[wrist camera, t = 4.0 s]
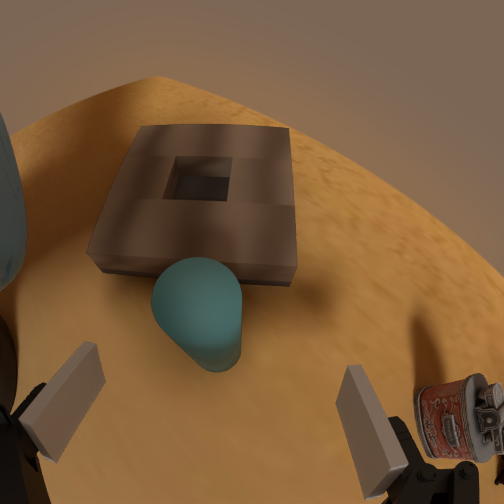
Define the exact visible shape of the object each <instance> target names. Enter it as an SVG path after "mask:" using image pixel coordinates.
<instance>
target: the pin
mask: <svg viewBox="0 0 504 504" xmlns="http://www.w3.org/2000/svg"><path fill="white" fill-rule="evenodd" d="M151 305H152V311H153V315H154V317H155V319H156V321H157V323H158V325H159V326H160V327H161V328H162V330H163V331H164V332H165V333H166V334H167V335H168V336H169V337H170V338H171V339H172V340H173V341H174V342H175V343H177V344H178V345H179V346H180V347H181V348H182V349H183V350H184V351H185V352H186V353H187V354H188V355H189V356H190V357H191V358H192V359H193V360H194V361H196V362H197V363H198V364H199V365H200V366H201V367H202V368H204V369H206V370H208V371H211V372H223V371H226V370H228V369H230V368H232V367H233V366H234V365H235V364H236V363H237V361H238V359H239V357H240V354H241V324H242V292H241V288H240V284H239V282H238V280H237V278H236V277H235V275H234V274H233V273H232V272H231V270H229V269H228V268H227V267H226V266H225V265H223V264H222V263H220V262H218V261H215V260H213V259H209V258H203V257H193V258H187V259H184V260H181V261H178V262H176V263H174V264H173V265H171V266H170V267H168V268H167V269H166V270H165V271H164V272H163V273H162V274H161V275H160V277H159V278H158V280H157V282H156V283H155V286H154V288H153V292H152V298H151Z"/></svg>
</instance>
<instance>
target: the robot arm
mask: <svg viewBox="0 0 504 504" xmlns="http://www.w3.org/2000/svg"><path fill="white" fill-rule="evenodd" d="M26 247H27V218H26V208H25V202H24V196H23V190H22V185H21V180H20V175H19V171H18V167H17V163H16V159H15V155H14V151H13V148H12V144H11V141H10V138H9V135H8V131H7V129H6V125H5V123H4V120H3V117H2V115H1V112H0V291H1V290H3V289H4V288H5V287H6V286H8V285H9V284H10V283H11V282H12V281H13V280H14V279H15V277H16V276H17V275H18V273H19V271H20V269H21V267H22V264H23V262H24V258H25V253H26ZM105 383H106V380H105V377H104V373H103V370H102V366H101V362H100V358H99V354H98V349H97V345H96V344H95V343H91V342H86V341H85V342H84V343H83V344H82V345H81V346H80V347H79V348H78V349H77V350H76V351H75V353H74V354H73V355H72V356H71V357H70V358H69V359H68V360H67V362H66V363H65V364H64V365H63V366H62V367H61V368H60V370H59V371H58V372H57V373H56V374H55V375H54V376H53V378H52V379H51V380H50V381H49V382H48V383H47V384H46V383H44V382H43V383H41V384H39V385H38V386H36V387H35V388H34V389H33V390H32V391H31V392H30V395H28V396H27V397H26V400H25V399H24V401H23V402H22V403H21V404H20V405H19V407H18V408H17V409H16V410H15V411H14V413H13V414H12V415H10V411H11V408H12V405H13V401H14V396H15V389H16V359H15V351H14V346H13V342H12V338H11V335H10V332H9V329H8V327H7V325H6V323H5V321H4V320H3V318H2V317H1V316H0V504H51V502H50V499H49V495H48V492H47V489H46V486H45V482H44V479H43V475H42V471H41V467H40V463H39V459H38V457H37V455H36V454H37V452H38V451H40V453H41V454H42V456H43V457H44V458H46V459H48V460H50V461H52V462H54V463H56V464H57V462H58V460H59V458H60V457H61V455H62V453H63V451H64V450H65V448H66V446H67V444H68V443H69V441H70V439H71V438H72V436H73V434H74V433H75V431H76V429H77V428H78V426H79V424H80V423H81V421H82V419H83V418H84V416H85V414H86V413H87V411H88V410H89V408H90V406H91V405H92V403H93V402H94V400H95V398H96V397H97V395H98V394H99V392H100V391H101V389H102V387H103V386H104V384H105ZM336 406H337V409H338V412H339V416H340V419H341V422H342V425H343V428H344V431H345V435H346V438H347V441H348V444H349V448H350V451H351V454H352V458H353V461H354V464H355V468H356V471H357V474H358V478H359V481H360V485H361V488H362V492H363V495H364V499H365V500H367V499H372V498H376V497H380V496H382V495H383V494H384V493H385V491H386V490H387V493H388V497H387V498H386V499H385V500H384V501H383V502H382V504H479V472H478V468H477V467H476V465H475V464H474V463H472V462H470V461H462V462H460V463H459V464H457V466H456V467H455V468H454V469H437V468H436V467H435V466H433V465H431V464H428V463H425V461H424V460H423V458H422V456H421V454H420V452H419V450H418V448H417V446H416V444H415V442H414V440H413V439H412V436H411V434H410V432H409V430H408V428H407V426H406V424H405V423H404V422H403V421H402V420H401V419H400V418H399V417H398V416H395V417H389V418H387V416H386V414H385V412H384V410H383V408H382V406H381V404H380V402H379V399H378V397H377V395H376V393H375V391H374V389H373V387H372V385H371V383H370V382H369V380H368V378H367V376H366V374H365V372H364V370H363V368H362V366H361V365H347V369H346V372H345V375H344V378H343V382H342V385H341V388H340V391H339V394H338V397H337V400H336Z"/></svg>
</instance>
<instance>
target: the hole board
mask: <svg viewBox="0 0 504 504" xmlns="http://www.w3.org/2000/svg"><path fill="white" fill-rule="evenodd" d="M86 253H87V254H88V256H89V257H90V258H91V259H92V260H93V262H94V263H95V264H96V265H97V266H98V267H99V269H100V270H101V271H102V272H103V273H110V274H120V275H131V276H142V277H153V278H159V277H160V275H161V274H162V273H163V272H164V271H165V270H166V269H167V268H168V267H170V266H171V265H173V264H174V263H176V262H178V261H181V260H184V259H187V258H193V257H203V258H209V259H213V260H215V261H218V262H220V263H222V264H223V265H225V266H226V267H227V268H228V269H229V270H231V272H232V273H233V274H234V275H235V277H236V278H237V280H238V282H239V284H252V285H271V286H290V284H291V281H292V278H293V276H294V273H295V271H296V268H297V244H296V223H295V204H294V188H293V174H292V161H291V148H290V136H289V128H282V127H269V126H254V125H232V124H174V125H152V126H141V128H140V129H139V131H138V133H137V135H136V137H135V139H134V141H133V143H132V144H131V146H130V148H129V150H128V152H127V154H126V156H125V158H124V160H123V162H122V165H121V167H120V169H119V171H118V173H117V175H116V177H115V180H114V182H113V184H112V186H111V189H110V191H109V193H108V196H107V198H106V200H105V203H104V205H103V208H102V210H101V213H100V215H99V218H98V220H97V223H96V226H95V228H94V231H93V234H92V237H91V240H90V242H89V245H88V248H87V251H86Z"/></svg>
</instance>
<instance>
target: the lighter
mask: <svg viewBox="0 0 504 504" xmlns="http://www.w3.org/2000/svg"><path fill="white" fill-rule="evenodd" d="M413 404H414V414H415V421H416V426H417V431H418V434H419V437H420V441H421V444H422V446H423V448H424V450H425V452H426V455H427V456H428V457H429V458H433V459H439V458H449V459H460V460H473V461H474V462H476V463H485V462H487V461H488V460H490V459H491V457H492V456H493V455H494V453H495V455H504V393H503V388H502V385H501V383H500V382H498V383H495V384H491V385H489V386H488V383H487V381H486V378H485V377H484V375H482V374H481V373H476V374H473V375H470V376H468V377H467V378H466V379H463V380H459V381H455V382H451V383H447V384H443V385H438V386H425V387H422V388H420V389H419V390H418V391H417V392H416V394H415V396H414V400H413Z"/></svg>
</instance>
